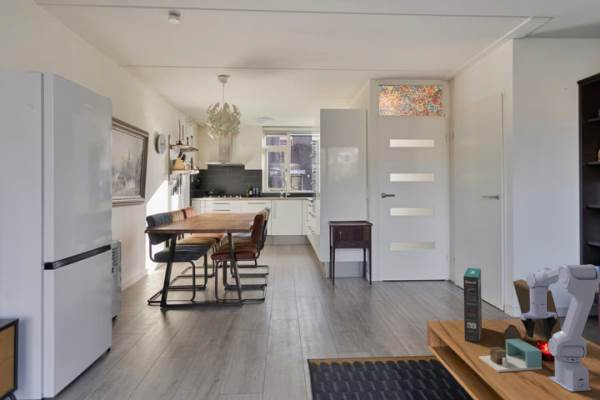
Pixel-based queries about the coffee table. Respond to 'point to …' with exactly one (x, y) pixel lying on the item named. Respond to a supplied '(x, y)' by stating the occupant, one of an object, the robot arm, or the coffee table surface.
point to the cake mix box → (472, 305)
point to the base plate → (508, 363)
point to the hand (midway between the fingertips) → (538, 336)
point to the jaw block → (497, 354)
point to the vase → (511, 333)
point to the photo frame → (524, 303)
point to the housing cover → (524, 352)
